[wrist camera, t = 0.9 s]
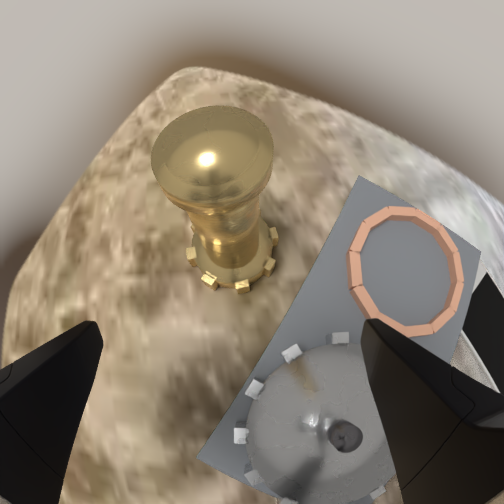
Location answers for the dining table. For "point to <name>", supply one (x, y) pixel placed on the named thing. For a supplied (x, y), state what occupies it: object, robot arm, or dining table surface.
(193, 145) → the gold piece
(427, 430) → the robot arm
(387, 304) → the gear board
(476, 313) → the smartphone
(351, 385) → the gear
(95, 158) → the dining table surface
